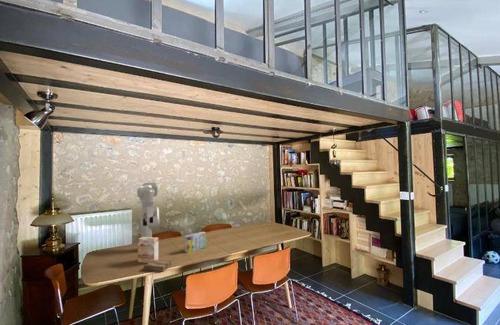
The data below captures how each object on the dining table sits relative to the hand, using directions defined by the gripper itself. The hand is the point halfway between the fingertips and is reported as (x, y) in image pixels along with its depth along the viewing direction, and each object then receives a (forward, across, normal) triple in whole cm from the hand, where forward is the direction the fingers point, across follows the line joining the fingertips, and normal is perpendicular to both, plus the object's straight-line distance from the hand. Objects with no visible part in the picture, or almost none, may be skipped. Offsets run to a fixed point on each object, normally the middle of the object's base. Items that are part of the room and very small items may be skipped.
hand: (148, 224), depth 203 cm
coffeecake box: (+31, 0, 0) cm, 31 cm away
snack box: (+32, -32, +30) cm, 54 cm away
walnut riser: (+32, +12, +15) cm, 37 cm away
